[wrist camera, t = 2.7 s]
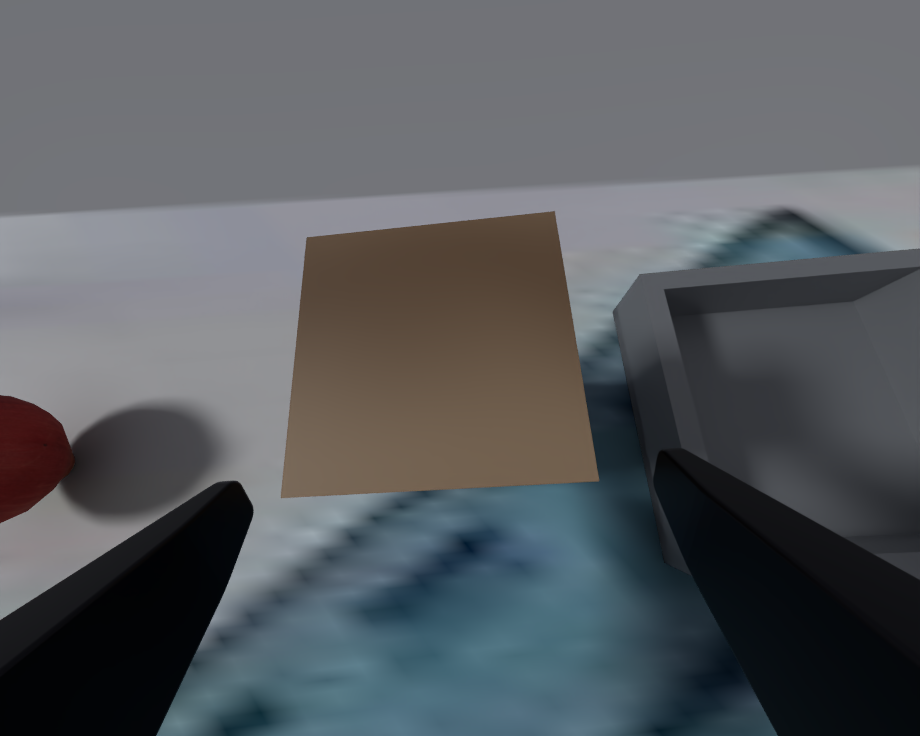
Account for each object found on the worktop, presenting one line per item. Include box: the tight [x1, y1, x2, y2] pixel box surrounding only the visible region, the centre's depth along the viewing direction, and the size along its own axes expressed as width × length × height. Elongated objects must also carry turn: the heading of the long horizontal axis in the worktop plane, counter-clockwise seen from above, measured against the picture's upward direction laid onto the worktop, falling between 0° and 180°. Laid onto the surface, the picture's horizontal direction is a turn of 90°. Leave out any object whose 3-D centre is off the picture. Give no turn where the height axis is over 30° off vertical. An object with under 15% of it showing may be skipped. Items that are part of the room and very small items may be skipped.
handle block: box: [281, 211, 599, 498], centre depth 11 cm, size 4×4×12 cm
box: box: [613, 249, 920, 579], centre depth 14 cm, size 12×12×4 cm
